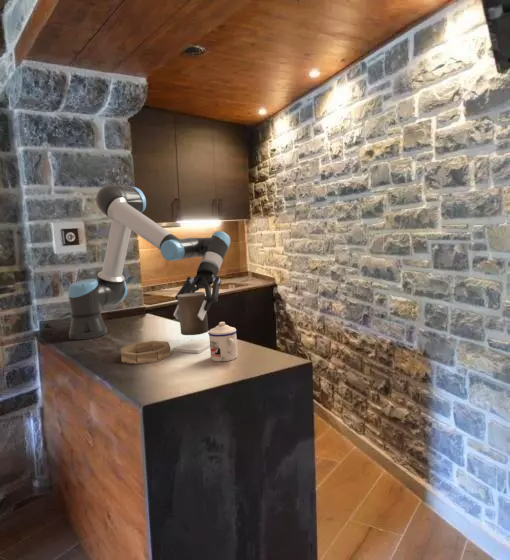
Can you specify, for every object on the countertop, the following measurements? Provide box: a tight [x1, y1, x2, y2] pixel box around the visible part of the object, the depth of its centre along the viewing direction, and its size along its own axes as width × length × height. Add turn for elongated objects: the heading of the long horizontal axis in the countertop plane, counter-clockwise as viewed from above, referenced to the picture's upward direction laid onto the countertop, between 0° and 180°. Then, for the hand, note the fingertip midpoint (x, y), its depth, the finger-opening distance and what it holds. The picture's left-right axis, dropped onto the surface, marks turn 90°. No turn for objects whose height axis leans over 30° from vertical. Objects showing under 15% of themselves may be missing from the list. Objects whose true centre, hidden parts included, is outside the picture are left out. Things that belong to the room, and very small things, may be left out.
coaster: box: [172, 339, 210, 354], centre depth 154 cm, size 11×11×1 cm
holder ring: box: [120, 340, 172, 365], centre depth 147 cm, size 16×16×3 cm
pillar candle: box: [177, 291, 209, 336], centre depth 152 cm, size 10×10×15 cm
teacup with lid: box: [207, 321, 239, 362], centre depth 138 cm, size 12×9×12 cm
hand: (187, 317), depth 149 cm, fingers closed on pillar candle, 9 cm apart
